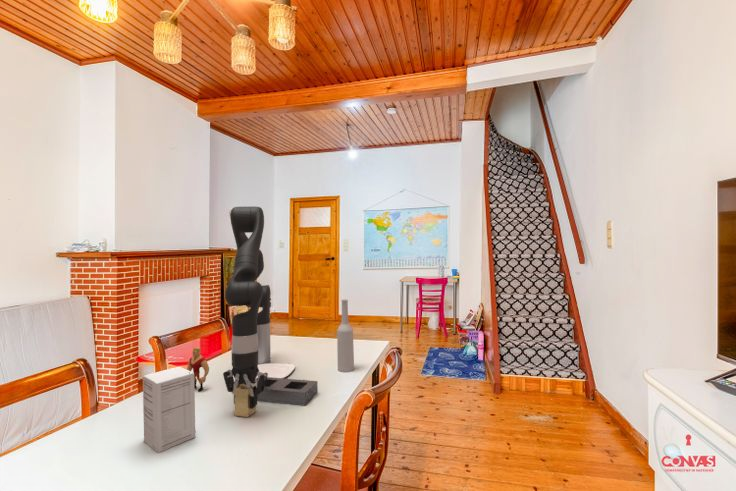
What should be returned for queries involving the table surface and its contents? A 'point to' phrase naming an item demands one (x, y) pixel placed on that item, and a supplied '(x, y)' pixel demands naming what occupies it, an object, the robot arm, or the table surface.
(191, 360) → the action figure
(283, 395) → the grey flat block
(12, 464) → the table surface
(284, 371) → the plate
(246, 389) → the brass peg
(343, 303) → the bottle
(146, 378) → the supplement box
